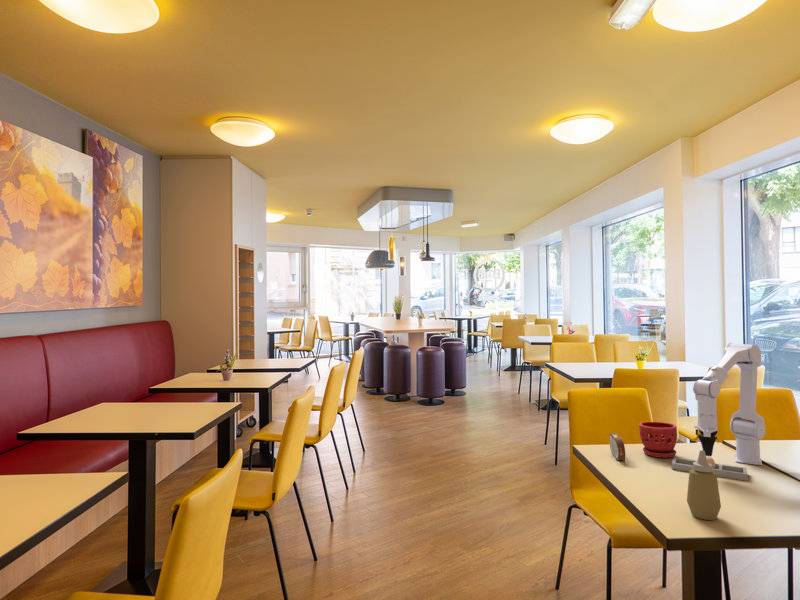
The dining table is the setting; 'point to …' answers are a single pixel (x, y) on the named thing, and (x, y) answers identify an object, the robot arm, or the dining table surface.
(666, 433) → the plant pot
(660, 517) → the dining table surface
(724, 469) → the grey compartment tray
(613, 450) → the tin
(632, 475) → the dining table surface
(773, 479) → the dining table surface
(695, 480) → the squeeze bottle
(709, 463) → the egg
